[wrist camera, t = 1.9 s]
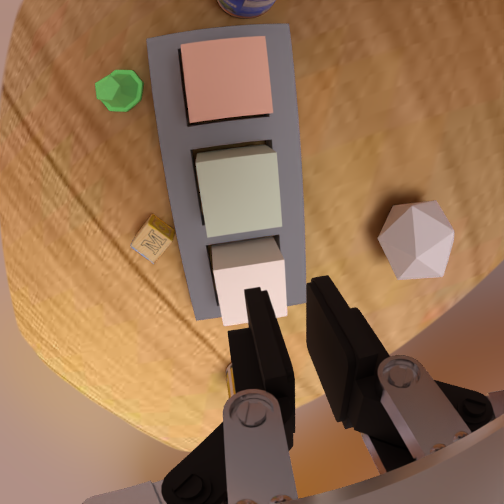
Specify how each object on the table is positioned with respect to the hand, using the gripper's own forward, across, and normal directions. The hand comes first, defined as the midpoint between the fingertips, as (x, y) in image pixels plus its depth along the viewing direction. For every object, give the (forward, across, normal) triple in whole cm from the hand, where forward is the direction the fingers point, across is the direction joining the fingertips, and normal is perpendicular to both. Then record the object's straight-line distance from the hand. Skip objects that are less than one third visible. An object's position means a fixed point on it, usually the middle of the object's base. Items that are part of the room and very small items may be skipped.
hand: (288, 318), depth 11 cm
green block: (+20, 0, 0) cm, 20 cm away
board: (+22, 0, 0) cm, 22 cm away
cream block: (+20, 0, +9) cm, 22 cm away
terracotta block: (+20, 0, -9) cm, 22 cm away
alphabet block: (+22, +9, +5) cm, 24 cm away
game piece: (+22, +9, -10) cm, 26 cm away
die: (+22, -19, +8) cm, 30 cm away
